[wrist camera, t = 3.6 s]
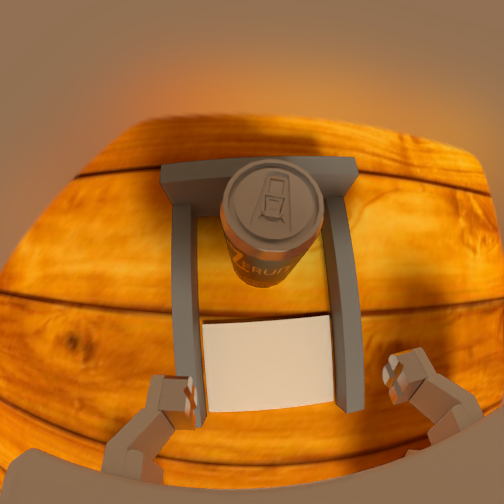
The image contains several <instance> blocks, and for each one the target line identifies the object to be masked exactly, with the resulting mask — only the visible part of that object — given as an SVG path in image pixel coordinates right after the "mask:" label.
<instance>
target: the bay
mask: <svg viewBox="0 0 504 504" xmlns="http://www.w3.org/2000/svg"><path fill="white" fill-rule="evenodd" d="M264 159H277V160H284V161H287V162H290V163H293V164H296V165H297V166H299V167H300V168H302V169H303V170H305V171H306V172H308V173H309V174H310V176H311V177H312V178H313V179H314V180H315V181H316V183H317V184H318V186H319V189H320V191H321V193H322V195H323V203H324V213H323V223H322V227H321V230H322V237H323V245H324V252H325V260H326V268H327V277H328V286H329V296H330V307H331V318H332V331H333V346H334V364H335V391H336V405H337V406H338V407H340V408H341V409H342V410H343V411H344V412H345V413H351V412H356V411H360V410H364V359H363V340H362V325H361V313H360V303H359V293H358V285H357V276H356V269H355V261H354V254H353V248H352V241H351V235H350V229H349V224H348V218H347V213H346V208H345V203H344V198H343V197H344V195H345V194H346V193H347V191H348V190H349V188H350V187H351V186H352V184H353V183H354V181H355V180H356V178H357V177H358V175H359V173H358V169H357V165H356V162H355V158H354V157H333V156H268V157H244V158H227V159H213V160H202V161H191V162H182V163H173V164H165V165H161V173H160V185H161V187H162V188H163V190H164V192H165V193H166V195H167V197H168V198H169V200H170V202H171V203H172V205H173V210H172V245H171V285H172V319H173V339H174V354H175V367H176V376H191V378H192V380H193V382H192V385H193V386H195V388H196V392H197V407H196V408H195V410H194V413H195V415H196V426H195V427H202V425H203V423H204V421H205V419H206V417H207V412H206V402H205V392H204V381H203V369H202V356H201V341H200V324H199V303H198V273H197V217H202V216H217V215H220V208H221V200H222V198H223V195H224V191H225V189H226V187H227V184H228V182H229V180H230V179H231V178H232V177H233V176H234V175H235V173H236V172H237V171H238V170H239V169H241V168H243V167H244V166H246V165H248V164H250V163H252V162H256V161H260V160H264ZM202 327H203V343H204V358H205V371H206V383H207V394H208V404H209V412H234V411H254V410H268V409H279V408H288V407H296V406H304V405H311V404H317V403H324V402H329V401H334V400H333V369H332V350H331V334H330V321H329V315H325V316H316V317H307V318H296V319H285V320H273V321H260V322H244V323H225V324H202Z"/></svg>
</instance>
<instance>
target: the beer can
mask: <svg viewBox="0 0 504 504" xmlns="http://www.w3.org/2000/svg"><path fill="white" fill-rule="evenodd" d="M323 213H324V203H323V195H322V193H321V191H320V189H319V186H318V184H317V183H316V181H315V180H314V179H313V178H312V177H311V176H310V174H309V173H308V172H306V171H305V170H303V169H302V168H300V167H299V166H297V165H296V164H293V163H290V162H287V161H284V160H277V159H264V160H260V161H256V162H252V163H250V164H248V165H246V166H244V167H243V168H241V169H239V170H238V171H237V172H236V173H235V175H234V176H233V177H232V178H231V179H230V180H229V182H228V184H227V187H226V189H225V191H224V195H223V198H222V200H221V208H220V218H221V222H222V226H223V230H224V234H225V238H226V242H227V246H228V250H229V253H230V257H231V261H232V264H233V268H234V271H235V272H236V274H237V275H238V276H239V278H240V279H241V280H243V281H244V282H245V283H247V284H248V285H251V286H254V287H259V288H268V287H271V286H274V285H277V284H278V283H280V282H281V281H282V280H284V279H285V278H286V277H287V275H288V274H289V273H290V272H291V270H292V269H293V268H294V267H295V266H296V264H297V263H298V262H299V261H300V259H301V258H302V257H303V256H304V254H305V253H306V252H307V251H308V249H309V248H310V247H311V245H312V244H313V243H314V241H315V240H316V238H317V237H318V235H319V234H320V230H321V227H322V223H323Z"/></svg>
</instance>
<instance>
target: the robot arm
mask: <svg viewBox="0 0 504 504" xmlns="http://www.w3.org/2000/svg"><path fill="white" fill-rule="evenodd" d="M388 361H389V363H388V364H386V365H385V367H384V369H383V375H382V377H383V381H384V384H385V386H387V387H388V388H390V389H389V393H388V394H389V396H390V399H391V401H392V404H393V405H396V404H399V403H403V402H406V401H409V402H410V403H411V404H412V405H413V406H414V407H415V408H416V409H418V410H419V411H420V412H421V413H422V414H423V415H425V416H426V417H427V418H428V419H429V420H430V421H431V422H433V423H434V424H435V425H434V426H433V427H432V428H431V429H429V430H428V432H427V435H428V438H429V440H430V443H431V446H429V447H427V448H425V449H423V450H420V451H418V452H416V453H413V454H411V455H408V456H406V457H403V458H400V459H398V460H395V461H392V462H389V463H386V464H383V465H380V466H377V467H374V468H371V469H367V470H364V471H360V472H356V473H353V474H349V475H345V476H340V477H336V478H331V479H327V480H321V481H316V482H310V483H304V484H297V485H289V486H281V487H270V488H255V489H204V488H189V487H179V486H170V485H162V484H163V469H162V468H161V467H160V466H159V465H157V464H156V463H155V462H154V461H152V460H153V459H154V458H155V456H156V455H157V454H158V453H159V451H160V450H161V449H162V447H163V446H164V445H165V443H166V442H167V441H168V440H169V438H170V437H171V436H172V434H173V433H174V432H175V429H176V430H195V426H196V415H195V413H194V410H195V408H196V407H197V392H196V388H195V386H193V385H192V382H193V380H192V378H191V376H172V375H153V376H152V378H151V382H150V387H149V391H148V396H147V401H146V406H145V409H141V410H140V411H139V412H138V413H137V414H136V415H135V416H134V417H133V418H132V419H131V420H130V421H129V422H128V423H127V424H126V425H125V426H124V427H123V428H122V429H121V430H120V431H119V432H118V433H117V434H116V435H115V436H114V437H113V438H112V439H111V440H110V441H109V442H108V443H107V444H106V449H105V454H104V459H103V464H102V469H101V472H100V471H97V470H93V469H90V468H87V467H84V466H81V465H78V464H75V463H72V462H69V461H66V460H64V459H61V458H58V457H56V456H53V455H51V454H49V453H46V452H44V451H42V450H39V449H36V448H31V449H29V450H27V451H25V452H24V453H23V454H21V455H20V456H19V457H17V458H16V459H15V460H13V461H12V462H11V464H10V465H9V467H8V469H7V472H6V474H5V478H4V482H3V486H2V490H1V495H0V504H504V404H503V405H501V406H500V407H498V408H497V409H496V410H494V411H493V412H491V413H490V414H488V415H486V416H485V417H484V415H483V413H482V411H481V409H480V406H479V404H478V402H477V400H476V398H475V397H474V395H472V394H471V393H469V392H468V391H466V390H465V389H463V388H461V387H460V386H458V385H457V384H455V383H454V382H452V381H450V380H449V379H447V378H446V377H444V376H443V375H441V374H440V373H439V374H437V373H436V371H435V369H434V368H433V366H432V364H431V362H430V360H429V358H428V357H427V355H426V353H425V351H424V350H423V349H422V348H421V347H418V348H414V349H411V350H406V351H403V352H399V353H395V354H392V355H390V357H389V359H388Z"/></svg>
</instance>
